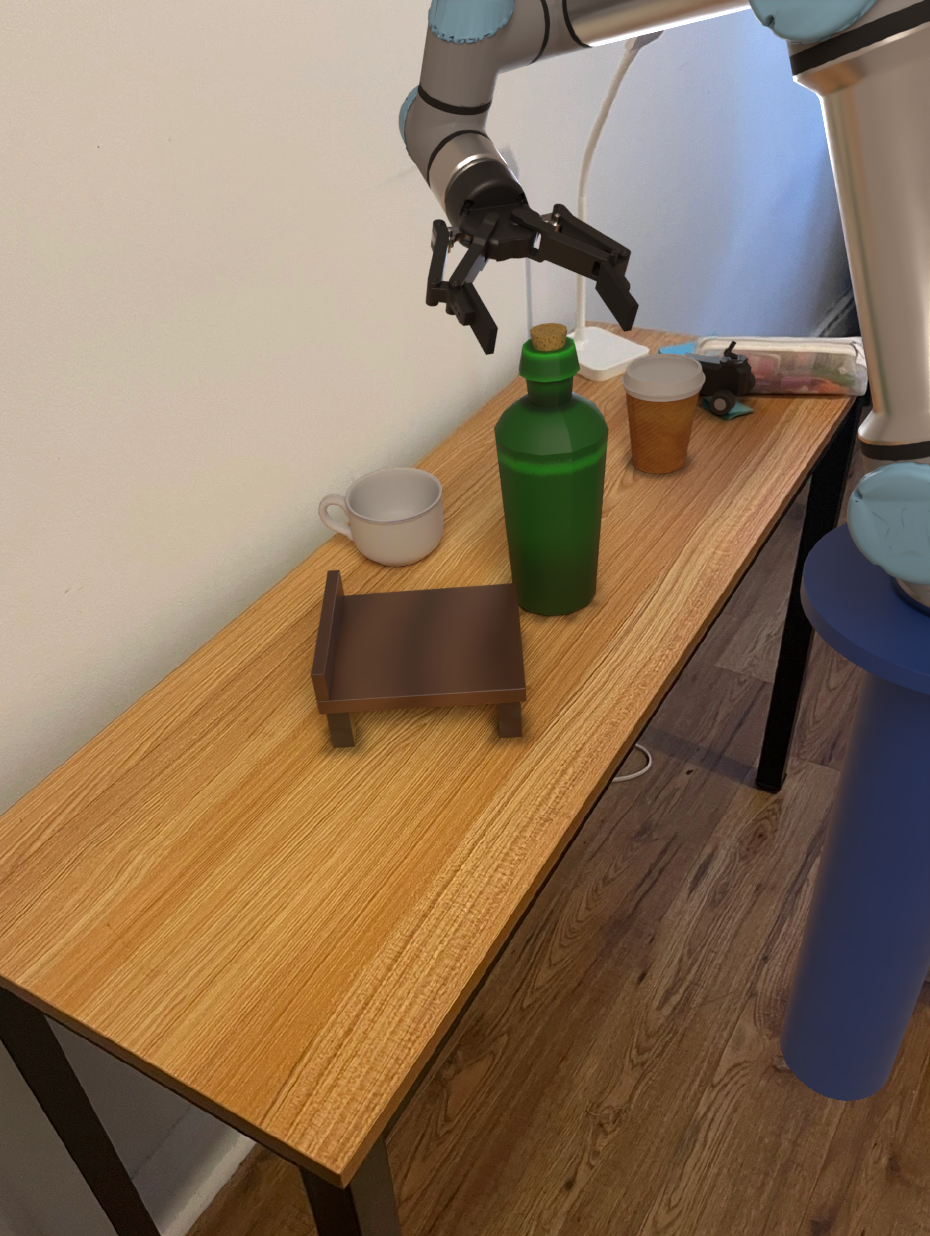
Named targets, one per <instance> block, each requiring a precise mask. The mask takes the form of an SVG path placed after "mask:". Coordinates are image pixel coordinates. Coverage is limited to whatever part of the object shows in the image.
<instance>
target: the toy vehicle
mask: <svg viewBox="0 0 930 1236" xmlns="http://www.w3.org/2000/svg"><path fill="white" fill-rule="evenodd" d="M736 345H737V342H736V341H735V340H731V342H730V344H729V345H728V347H726V348H725V349H724V351H723V356H722V357H718V356H711V355H704V354H700V353H699V354H698V353H691V352H685V353H684V354H683V355H685V356H688V357H691V358H694V359H695V360H697V361H699V363H700V364H701V366H702V371H703V373H704V375H705V383H704V384H703V386H702V388H701V390H700V392H699V395H704V396H711V397H710V399H709V408H710V410H711V411H712V412H713V414H715V415H718V416H725V415H727V414H728V413H730V412H731V410H733V408H734V407H735V405H736V402H737V401H736V398H738V397H740V396H745V395H747V394H749V393H750V392H751V391H752V390H753V389H754V387H755V385H756V383H757V379H756V376H755V374H754V373H753V372H752V366H751V365H750V363H749V362H748V361H749V357H747V356H746V355H745V354H741V353H740V354H738V353H734V352H733V350H734V348H735V346H736Z"/></svg>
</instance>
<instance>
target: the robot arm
mask: <svg viewBox="0 0 930 1236" xmlns="http://www.w3.org/2000/svg"><path fill="white" fill-rule="evenodd" d="M749 9H750V10H751V11H752V13H753V15H754V17H755V18H756V20H757V21H758V23H759V24H760V25H762V26H763V27H766V28H768V29H769V30H770V32H771V33H773V35H774V36H775V37H776V38H779V39H780V40H784V41H785V43H786V48H787V54H788V59H789V65H790V70H791V76H792V79H793V82H795V83H797V84H798V85H799V86H802V87H803V88H805V89H807V90H809V91H810V92H812V93H814V94H815V95H816V96H817V97H818V99H819V102H820V106H821V108H820V109H821V113H822V118H823V124H824V129H825V130H824V131H825V135H826V141H827V147H828V153H829V158H830V164H831V170H832V176H833V182H834V187H835V192H836V198H837V199H836V200H837V205H838V211H839V216H840V221H841V227H842V233H843V240H844V244H845V250H846V255H847V262H848V268H849V274H850V280H851V285H852V291H853V296H854V303H855V309H856V312H857V313H856V314H857V321H858V325H859V331H860V337H861V343H862V348H863V349H862V350H863V355H864V360H865V361H864V362H865V366H866V372H867V377H868V383H869V389H870V396H871V401H872V409H871V410H870V412H869V413H868V415H867V416H866V418H865V419H864V420H863V421H862V423H861V424H860V426H859V427H858V429H857V437H858V442H859V443H858V444H859V447H860V455H861V460H862V465H863V471H864V475H863V476H862V477H861V478H860V479H859V481H858V482H857V484H856V486H855V487H853V490H852V493H851V494H850V497H849V498H848V502H847V508H846V523H847V524H848V528H849V531H850V534H851V536H852V539H853V541H854V543H855V544H856V546H857V547H858V549H859V550H860V552H861V553H862V554H863V555H864V556H865V557H866V558H867V559H868V560H869V561H870V562H871V563H872V564H874V565H879V566H880V567H881V568H882V569H884V570H885V572H886V573H887V574H889V575H891V584H892V587H893V589H894V591H895V592H896V594H897V595H898V596H899V597H900V599H901V600H902V601H903V602H905V603H906V604H907V605H908V606H910V607H911V608H913V609H914V610H916V611H917V612H919V613H921V614H923V615H925V616H927V617H929V618H930V0H431V3H430V6H429V9H428V11H427V28H426V35H425V42H424V49H423V53H422V54H423V56H422V62H421V68H420V75H419V81H418V82H419V83H418V84H417V85H416V86H415V87H413V88H412V89H411V90H410V91H409V92H408V95H407V96H406V97H405V99H404V101H403V103H402V104H401V107H400V109H399V113H398V130H399V135H400V137H401V139H402V141H403V143H404V145H405V150H406V151H407V154H408V157H409V158H410V160H411V161H412V162H413V163H414V164H415V167H417V169H418V171H419V173H420V174H421V176H422V178H423V179H424V181H425V183H426V184H427V186H428V187H429V189H430V191H431V192H432V194H433V195H434V198H435V199H436V201H437V202H438V205H439V206H440V208H441V209H442V211H443V213H444V214H445V216H446V218H447V220H448V222H449V224H450V226H447V223H446V221H445V220H443V219H440V218H437V219H434V220H433V221H432V228H431V229H432V231H431V238H430V248H431V250H432V256H431V260H430V265H429V269H428V270H429V271H428V276H427V282H426V283H427V284H426V290H425V305H427V306H428V307H437V306H438V305H439V303H440V304H441V303H442V304H445V310H444V311H445V313H446V314H447V315H449V316H455V317H456V319H457V322H458V323H459V324H460V325H461V326H462V327H467V326H469V327H470V329H471V331H472V332H473V335H474V336H475V338H476V340H477V342H478V344H479V345H480V347H481V349H482V351H483V353H484V355H486V356H488V355H494V354H495V348H496V343H497V337H498V332H499V327H498V325H497V324H496V322H495V320H494V318H493V317H492V315H491V313H490V311H489V309H488V307H487V306H486V305H485V303H484V301H483V298H481V295H480V293H479V292H478V290H477V289H476V287H475V285H474V282H475V281H476V278H477V277H478V275H479V274H480V272H483V271H484V268H485V267H486V266H487V264H488V262H489V261H490V260H493V261H495V262H496V263H499V262H505V261H508V260H510V259H513V260H515V259H518V260H520V259H525V258H526V259H529V260H532V261H534V262H537V263H541V264H542V263H544V261H545V262H549V263H551V264H553V265H556V266H559V267H561V268H562V269H565V270H568V271H570V272H573V273H575V274H577V275H580V276H582V277H584V278H587V279H590V280H591V281H594V282H595V287H594V289H595V290H596V292H597V294H598V295H599V297H600V298H601V300H602V301H603V303H604V304H605V306H606V307H607V309H608V310H609V312H610V313H611V314H612V316H613V318H614V320H615V321H616V322H617V324H618V325H619V327H620V328H621V330H622V331H623V332H630V331H632V329H633V327H634V323H635V320H636V316H637V314H638V313H637V312H638V310H639V307H640V304H639V303H638V302H637V300H636V299H635V298H634V296H633V294H632V292H630V290H631V283H630V281H629V280H628V278H627V277H626V273H627V270H628V266H629V262H630V260H631V259H630V258H631V255H632V250H631V249H630V248H629V247H627V246H625V245H623V244H622V243H620V242H618V241H617V240H615V239H613V238H612V237H610V236H608V235H607V234H604V233H603V232H601V231H600V230H598V229H597V228H595V227H593V226H592V225H590V224H589V223H587V222H585V221H583V220H581V219H580V218H579V217H577V216H575V215H574V214H573V213H572V212H571V211H570V210H569V209H568V208H567V206H566V205H564V204H562V203H554V205H553V207H552V211H551V212H549V213H544V214H540V213H539V212H538V211H536V210H535V209H533V208H531V206H530V203H529V200H528V197H527V194H526V192H525V190H524V188H523V187H522V185H521V183H520V182H519V180H518V179H517V177H516V175H514V173H513V171H512V170H511V168H510V165H508V163H507V161H506V160H505V158H504V157H503V156H502V155H501V153H500V152H499V150H498V148H497V147H496V146H495V144H494V142H493V141H492V140H491V138H490V137H489V135H488V133H487V130H486V129H487V124H488V119H489V114H490V111H491V107H492V104H493V100H494V94H495V90H496V89H495V88H496V85H497V81H498V77H499V75H501V74H504V73H508V72H511V71H515V70H517V69H521V68H524V67H528V66H531V65H532V64H535V63H540V62H543V61H546V60H550V59H554V58H557V57H558V58H559V57H560V56H564V55H569V54H572V53H573V54H574V53H578V52H581V51H585V50H588V49H592V48H594V47H598V46H602V45H606V44H610V43H615V42H619V41H623V40H627V39H630V38H634V37H640V36H643V35H647V34H651V33H655V32H656V33H657V32H659V31H664V30H667V29H672V28H675V27H680V26H683V25H688V24H692V23H696V22H699V21H700V22H701V21H705V20H708V19H713V18H716V17H720V16H724V15H725V16H726V15H729V14H732V13H738V12H742V11H745V10H749ZM539 236H540V240H539V244H538V248H537V247H535V246H536V243H537V241H538V239H539ZM457 242H458V243H459V244H460V246H462V247H464V248H466V249H467V250H466V252H465V253H464V255H463V256H462V258H461V259H460V261H459V263H458V264H457V266H456V268H455V269H454V271H453V272H452V274H451V276H450V278H449V279H448V280H444V277H445V272H446V267H447V262H448V254H450V253H451V252H452V249H453V248H454V247H455V245H456V243H457Z"/></svg>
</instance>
